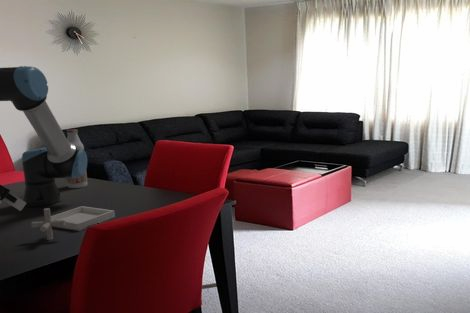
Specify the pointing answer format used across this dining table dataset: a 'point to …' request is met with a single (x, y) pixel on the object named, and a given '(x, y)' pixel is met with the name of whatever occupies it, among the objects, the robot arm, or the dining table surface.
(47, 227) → the pipe connector
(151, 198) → the dining table surface
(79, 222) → the tray
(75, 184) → the fruit juice
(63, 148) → the robot arm
